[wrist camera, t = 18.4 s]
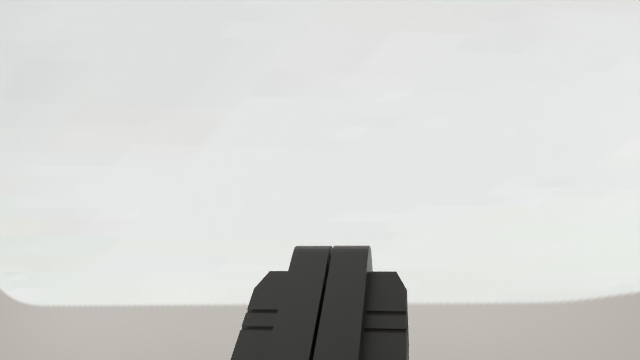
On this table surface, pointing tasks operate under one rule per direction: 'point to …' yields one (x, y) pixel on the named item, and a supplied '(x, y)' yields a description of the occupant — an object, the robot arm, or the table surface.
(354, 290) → the robot arm
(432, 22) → the table surface
